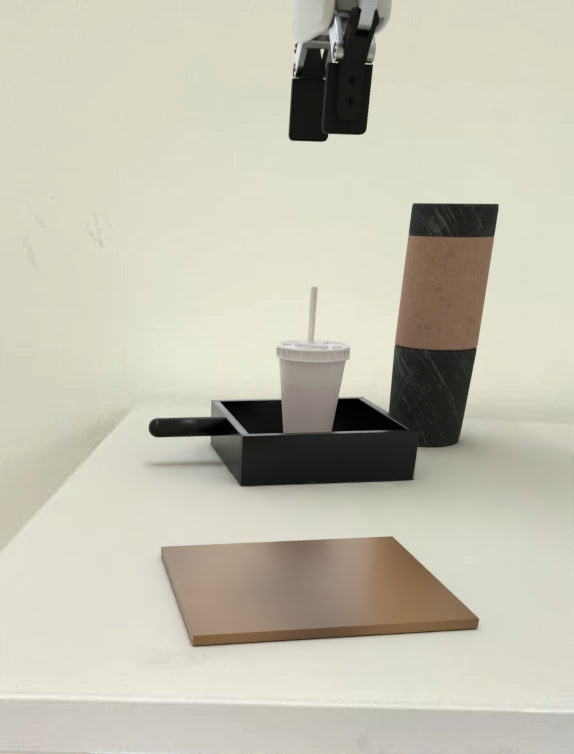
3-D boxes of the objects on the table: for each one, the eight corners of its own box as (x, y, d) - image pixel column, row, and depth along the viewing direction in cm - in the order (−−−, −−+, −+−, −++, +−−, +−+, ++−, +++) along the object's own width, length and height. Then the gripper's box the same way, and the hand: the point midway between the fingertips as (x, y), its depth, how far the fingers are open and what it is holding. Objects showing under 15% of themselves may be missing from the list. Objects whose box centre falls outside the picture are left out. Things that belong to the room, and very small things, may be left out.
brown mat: (391, 544, 60) (392, 536, 59) (477, 628, 48) (479, 618, 48) (161, 555, 57) (161, 546, 57) (192, 646, 46) (192, 635, 45)
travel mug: (465, 449, 83) (506, 203, 72) (384, 445, 84) (413, 203, 73) (458, 431, 89) (494, 203, 79) (383, 428, 90) (409, 203, 80)
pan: (358, 439, 86) (363, 396, 84) (413, 479, 74) (420, 431, 72) (140, 445, 83) (139, 401, 81) (159, 488, 71) (158, 438, 69)
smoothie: (319, 449, 82) (333, 283, 75) (353, 465, 77) (371, 290, 70) (258, 454, 80) (265, 285, 73) (289, 472, 75) (300, 291, 68)
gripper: (456, -226, 50) (412, 133, 59) (363, -133, 65) (339, 145, 74) (332, -239, 49) (306, 129, 58) (265, -141, 64) (253, 142, 73)
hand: (324, 137), depth 66 cm, fingers open, 9 cm apart
